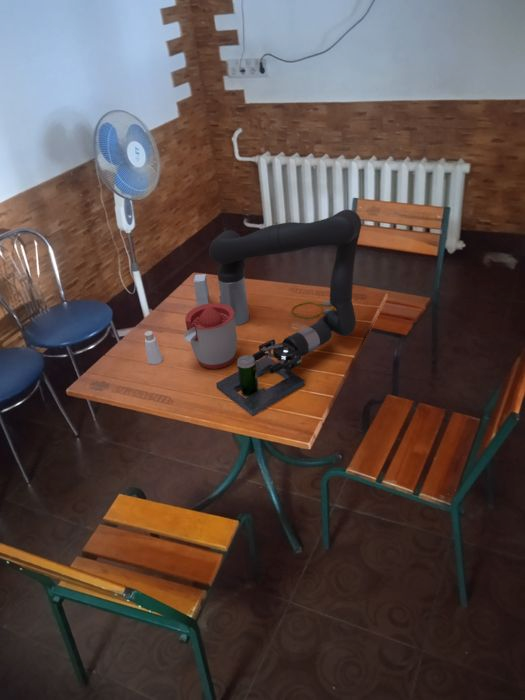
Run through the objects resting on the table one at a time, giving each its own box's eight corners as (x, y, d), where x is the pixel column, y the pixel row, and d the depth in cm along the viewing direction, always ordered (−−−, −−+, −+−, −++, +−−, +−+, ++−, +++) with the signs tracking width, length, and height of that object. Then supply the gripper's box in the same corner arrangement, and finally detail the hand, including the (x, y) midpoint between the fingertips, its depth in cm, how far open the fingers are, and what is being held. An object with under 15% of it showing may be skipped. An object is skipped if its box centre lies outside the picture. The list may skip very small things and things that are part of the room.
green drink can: (243, 399, 166) (238, 366, 159) (239, 388, 171) (235, 356, 164) (260, 395, 167) (256, 363, 160) (257, 385, 171) (253, 353, 165)
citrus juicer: (180, 361, 186) (169, 309, 175) (223, 340, 194) (215, 289, 183) (205, 382, 175) (195, 328, 164) (250, 359, 183) (243, 306, 172)
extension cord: (331, 322, 198) (331, 317, 197) (288, 318, 203) (288, 314, 202) (337, 305, 208) (337, 300, 207) (296, 302, 212) (296, 297, 211)
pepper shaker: (157, 353, 191) (150, 326, 185) (166, 359, 188) (160, 331, 181) (144, 361, 188) (136, 333, 182) (153, 367, 185) (146, 339, 178)
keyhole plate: (267, 361, 181) (266, 356, 180) (304, 385, 169) (304, 379, 168) (217, 388, 172) (216, 383, 171) (252, 415, 160) (251, 410, 158)
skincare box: (209, 309, 213) (204, 281, 207) (198, 309, 214) (193, 281, 207) (210, 301, 218) (206, 273, 212) (199, 302, 219) (195, 274, 212)
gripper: (286, 324, 177) (245, 345, 170) (316, 341, 168) (275, 364, 160) (287, 344, 181) (248, 365, 174) (317, 362, 172) (277, 385, 164)
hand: (261, 364), depth 167 cm, fingers open, 8 cm apart
